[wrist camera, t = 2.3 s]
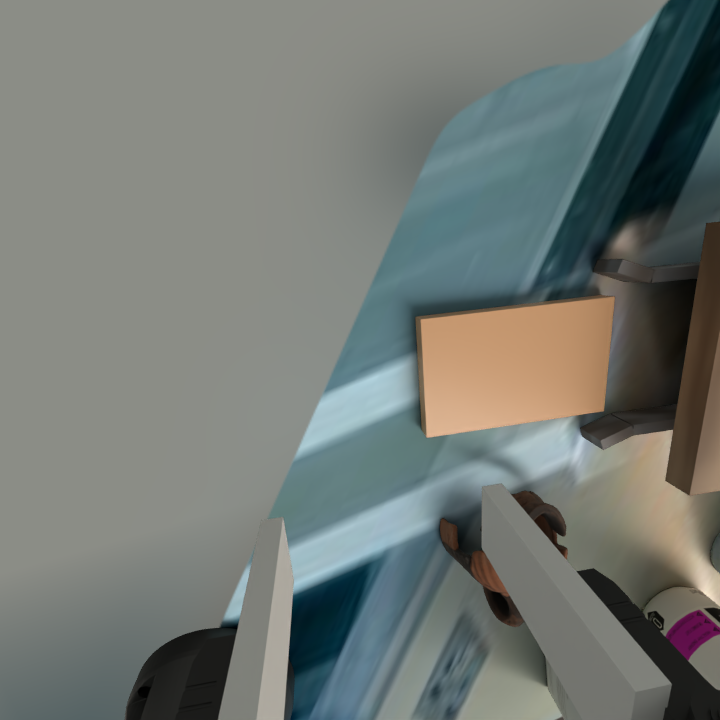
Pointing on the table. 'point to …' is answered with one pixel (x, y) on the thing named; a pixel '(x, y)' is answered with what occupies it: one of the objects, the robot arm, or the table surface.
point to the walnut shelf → (699, 378)
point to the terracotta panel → (513, 364)
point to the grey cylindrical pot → (716, 553)
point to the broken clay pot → (483, 569)
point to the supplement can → (690, 627)
